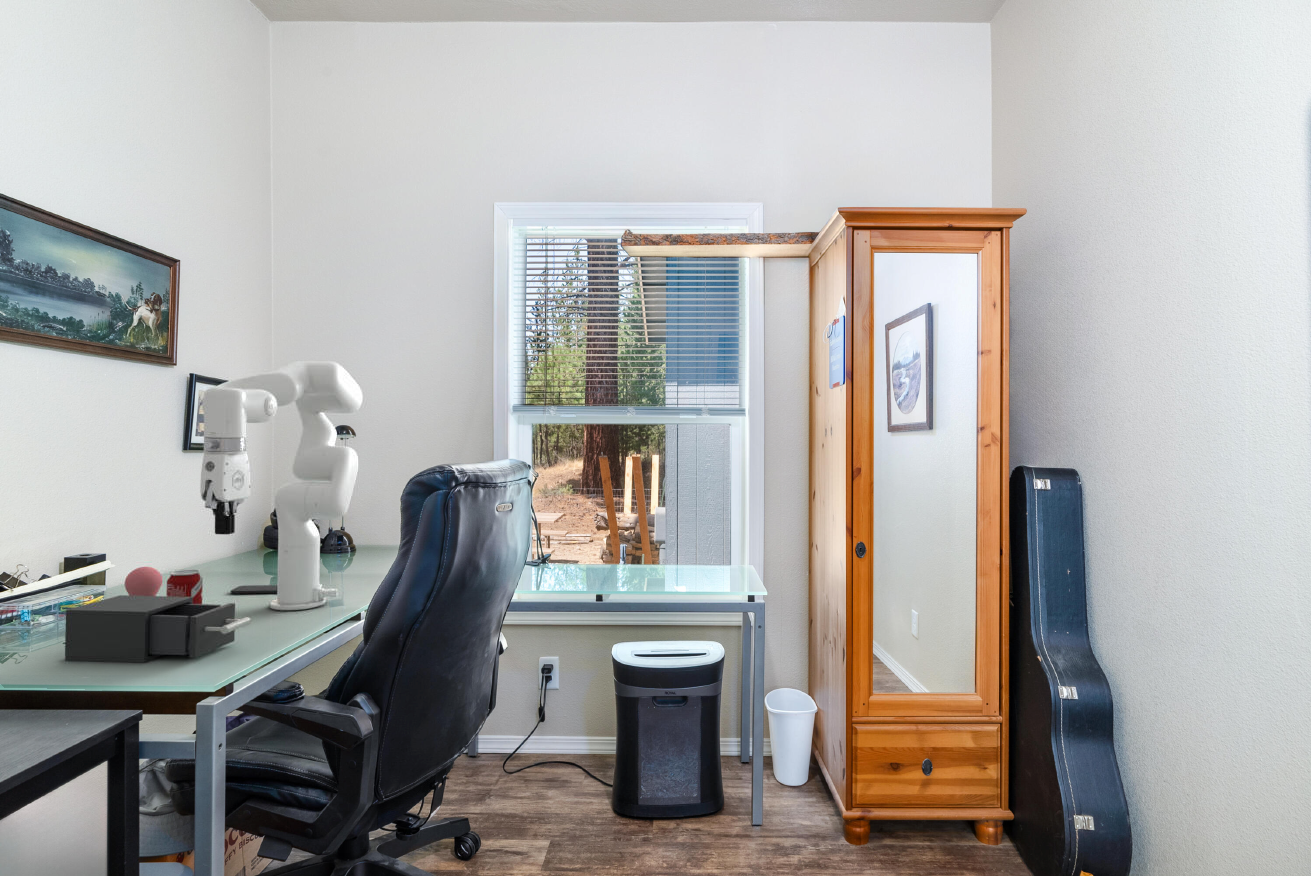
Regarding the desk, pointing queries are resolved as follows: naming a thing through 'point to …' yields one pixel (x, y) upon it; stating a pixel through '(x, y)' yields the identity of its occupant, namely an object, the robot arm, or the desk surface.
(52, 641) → the desk surface
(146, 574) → the light bulb
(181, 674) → the desk surface
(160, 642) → the drawer
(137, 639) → the cabinet
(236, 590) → the phone
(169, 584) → the soda can
